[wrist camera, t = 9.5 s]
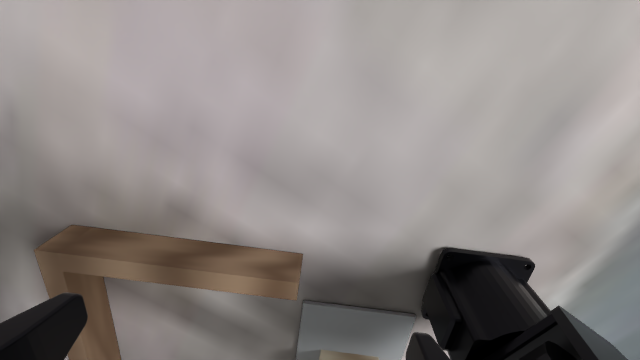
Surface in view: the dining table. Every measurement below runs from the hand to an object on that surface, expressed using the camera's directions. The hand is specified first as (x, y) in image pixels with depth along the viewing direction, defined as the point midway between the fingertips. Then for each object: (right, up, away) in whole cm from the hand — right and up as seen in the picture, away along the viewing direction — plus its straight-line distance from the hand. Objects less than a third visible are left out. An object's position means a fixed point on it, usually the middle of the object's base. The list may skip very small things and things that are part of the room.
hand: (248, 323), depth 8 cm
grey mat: (+4, -13, +19) cm, 23 cm away
